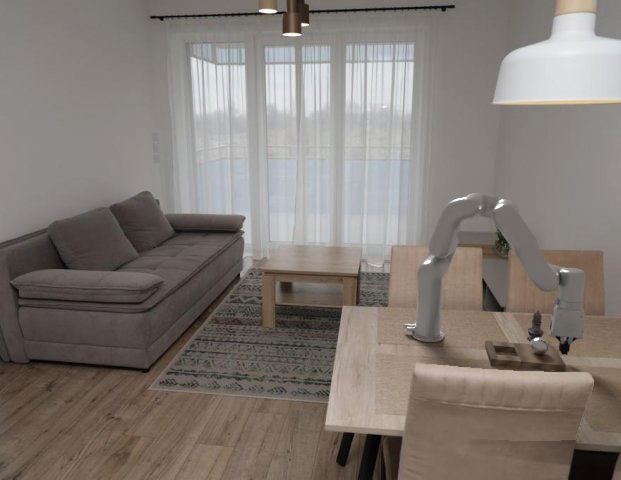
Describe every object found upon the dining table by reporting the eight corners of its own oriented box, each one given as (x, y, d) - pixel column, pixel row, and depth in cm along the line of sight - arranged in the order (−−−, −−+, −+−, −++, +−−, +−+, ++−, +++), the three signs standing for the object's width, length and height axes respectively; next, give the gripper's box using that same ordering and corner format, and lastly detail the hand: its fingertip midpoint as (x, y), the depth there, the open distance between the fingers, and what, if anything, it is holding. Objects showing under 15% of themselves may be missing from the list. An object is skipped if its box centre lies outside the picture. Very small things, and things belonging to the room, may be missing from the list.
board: (490, 365, 171) (491, 358, 170) (484, 346, 185) (485, 340, 184) (565, 372, 166) (565, 365, 165) (553, 352, 180) (553, 346, 180)
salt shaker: (544, 343, 188) (548, 314, 185) (528, 342, 189) (531, 312, 186) (540, 337, 193) (544, 308, 190) (525, 335, 194) (528, 307, 192)
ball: (531, 356, 172) (533, 340, 170) (527, 349, 177) (529, 333, 176) (549, 358, 170) (551, 342, 169) (545, 350, 176) (547, 335, 175)
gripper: (548, 306, 166) (543, 356, 170) (597, 309, 163) (590, 359, 167) (543, 298, 173) (538, 346, 177) (589, 301, 170) (583, 350, 174)
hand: (563, 352), depth 172 cm, fingers closed
